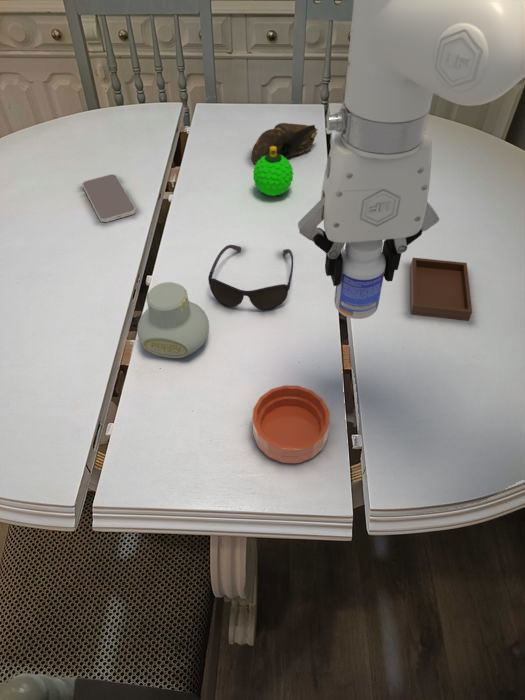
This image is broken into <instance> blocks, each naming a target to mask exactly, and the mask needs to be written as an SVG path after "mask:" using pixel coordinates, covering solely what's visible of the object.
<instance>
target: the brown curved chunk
mask: <svg viewBox="0 0 525 700" xmlns="http://www.w3.org/2000/svg"><path fill="white" fill-rule="evenodd" d="M318 131H319V130H318V128H316V124H310V125H307V124H301V123H288V122H280V123H278V124H276V125H275V126H274V128H270V129H267V130H265V131H263V132H262V133H261V134H260V136H258V139H257V140H256V141H255V143H254V144H253V148H252V150H251V161H252V163H253V164H255V165H256V164H257V162H258V160H260V159H261V157H263V156H265V155H267V154H269V153H270V147H271V146H276V147H277V154H279V155H282V156H284V158H286V159H288V158H290V157H294V156H297V155H299V154H302V153H305V152H307V151H308V150H310V148H311V147H312V146H313V144H314V142H315V139H316V137H317V135H318V134H319V133H318ZM272 152H275V151H272Z"/></svg>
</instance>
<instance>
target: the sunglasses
mask: <svg viewBox="0 0 525 700" xmlns="http://www.w3.org/2000/svg"><path fill="white" fill-rule="evenodd" d="M229 249H232V250H234V251H236V252H238V253H240V252H241V251H242V247H241V246H239V245H236V244H228V245H226V246H224V247H223V248H222V249H221V251H220V252H219V253H218V255H217V256H216V257H215V260H214V262H213V264H212V266H211V269H210V271H209V274H208V278H207V279H208V280H207V281H208V284H209V290H210V291H211V294H212V296H213V297H214V298H215V299H216V300H217V302H218V303H220V304H221V305H223V306H225V307H228V308H236V307H238V306H239V305H240V304H242V302H243V300H244V297H248V299H249V302H250V303H251V304H252V306H253V307H255V308H256V309H257V310H260V311H271V310H274V309H275V308H279V306H281V305H282V304H284V302H285V301H286V299H287V297H288V294H289V290H290V288H291V283H292V279H293V272H294V255H293V252H292V250H291V249H289V248H286V249H283V250H282V254H283V256H287V255H288V254H289V255H290V261H291V264H290V272H289V276H288V281H287V284H286V283H282V284H276V285H271V286H266V287H260V288H257V289H252V290H243V289H240V288H237V287H235V286H232V285H230V284H227V283H226V282H223V281H221V280H218V279H216V278H213V275H214V272H215V269H216V268H217V265H218V262H219V261H220V259H221V257H222V255H223V254H224V253H225V252H226V251H227V250H229Z"/></svg>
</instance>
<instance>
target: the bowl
mask: <svg viewBox="0 0 525 700" xmlns="http://www.w3.org/2000/svg"><path fill="white" fill-rule="evenodd" d="M330 420H331V419H330V410H329V408H328V406H327V404H326V402H325V400H324V399H323V398H322V397H321V396H320V395H318V394H317V393H316V392H315V391H313V390H312V389H309V388H306V387H304V386H300V385H289V384H288V385H281V386H277V387H274V388H271V389H270V390H268V391H266V392H265V393H264V394H263V395H261V396H260V397H259V399H258V400H257V402H256V404H255V405H254V407H253V411H252V433H253V438H254V441H255V443H256V445H257V447H258V449H259V450H260V451H262V452H263V454H264V455H265V456H266V457H268V458H270V459H272V460H275V461H277V462H279V463H282V464H299V463H303V462H305V461H308V460H311V459H313V458H314V457H316V455H317V454H319V453H320V452H321V451H322V450H323V449H324V446H325V444H326V442H327V440H328V438H329V430H330Z"/></svg>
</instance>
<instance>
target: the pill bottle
mask: <svg viewBox="0 0 525 700" xmlns="http://www.w3.org/2000/svg"><path fill="white" fill-rule="evenodd" d="M383 244H384V240H374V241H362V242H348V243H345V245H344V246H345V247H344V249H342V250H341V254H342V258H343V266H342V274H341V282H340V284H339V286H335V290H334V291H335V292H334V307H335V309H336V310H337V312H339V313H340V315H342V316H344V317H346V318H350V319H353V320H362V319H367V318H369V317H371V316H373V315H375V313H376V312H377V310H378V307H379V304H380V298H381V292H382V288H383V282H384V272H385V266H386V260H385V257H384V255H383V253H382V249H383Z"/></svg>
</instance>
